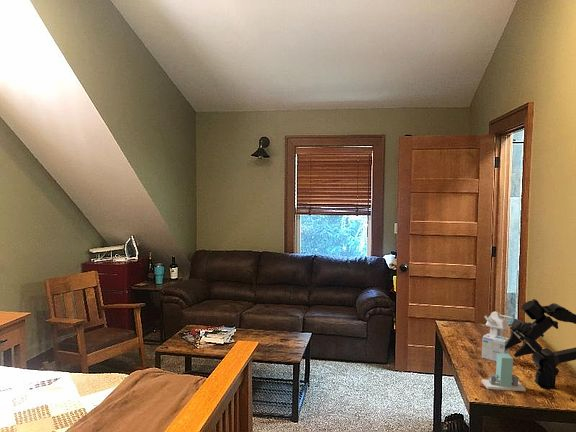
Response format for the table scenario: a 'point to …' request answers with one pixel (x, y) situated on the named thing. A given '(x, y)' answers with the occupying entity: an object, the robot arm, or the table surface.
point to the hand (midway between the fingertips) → (509, 351)
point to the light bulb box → (493, 346)
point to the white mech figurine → (497, 323)
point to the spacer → (504, 369)
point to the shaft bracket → (494, 384)
